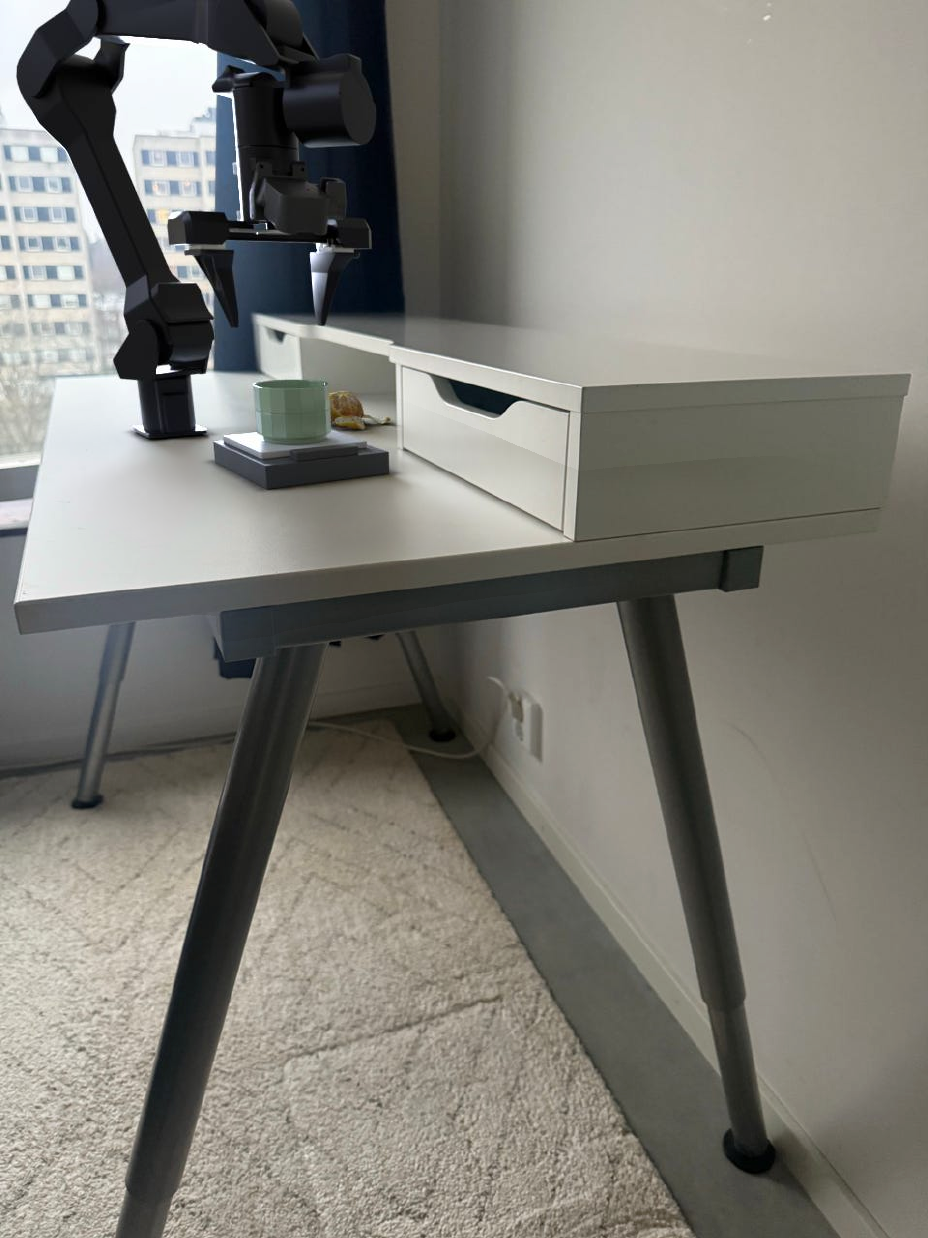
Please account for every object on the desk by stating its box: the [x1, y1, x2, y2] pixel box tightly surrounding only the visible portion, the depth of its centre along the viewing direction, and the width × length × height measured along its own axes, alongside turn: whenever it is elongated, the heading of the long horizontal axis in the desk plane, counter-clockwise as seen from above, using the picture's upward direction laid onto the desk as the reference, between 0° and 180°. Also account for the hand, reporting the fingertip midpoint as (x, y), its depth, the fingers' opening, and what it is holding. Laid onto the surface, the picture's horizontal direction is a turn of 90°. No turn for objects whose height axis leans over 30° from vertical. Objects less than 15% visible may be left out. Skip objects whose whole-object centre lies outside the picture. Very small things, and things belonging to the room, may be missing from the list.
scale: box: [212, 429, 390, 490], centre depth 81 cm, size 13×12×3 cm
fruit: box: [329, 390, 392, 430], centre depth 104 cm, size 8×8×4 cm
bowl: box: [252, 379, 332, 444], centre depth 80 cm, size 7×7×5 cm
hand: (279, 326), depth 86 cm, fingers open, 9 cm apart
